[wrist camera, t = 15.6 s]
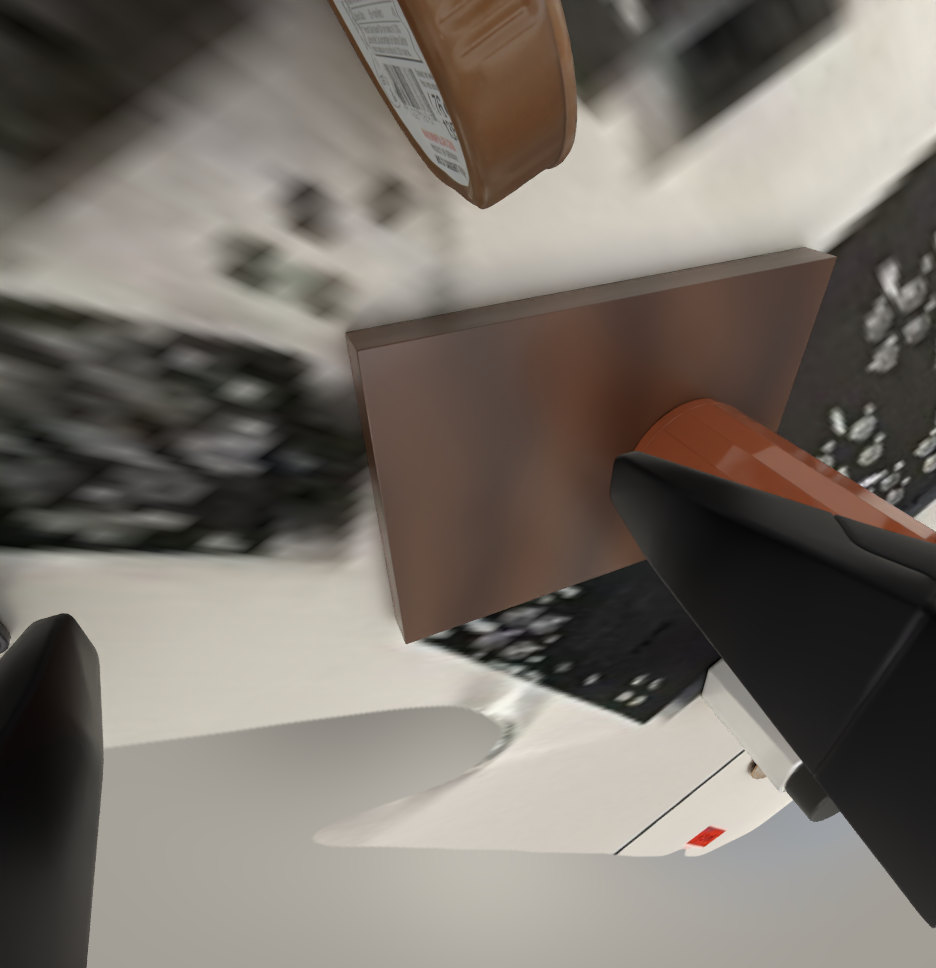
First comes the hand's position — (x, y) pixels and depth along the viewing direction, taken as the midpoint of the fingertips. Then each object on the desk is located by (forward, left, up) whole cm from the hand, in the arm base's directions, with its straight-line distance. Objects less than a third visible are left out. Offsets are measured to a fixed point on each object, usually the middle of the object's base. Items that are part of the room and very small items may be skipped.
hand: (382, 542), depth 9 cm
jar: (+32, -39, -13) cm, 52 cm away
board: (+13, -10, -13) cm, 21 cm away
